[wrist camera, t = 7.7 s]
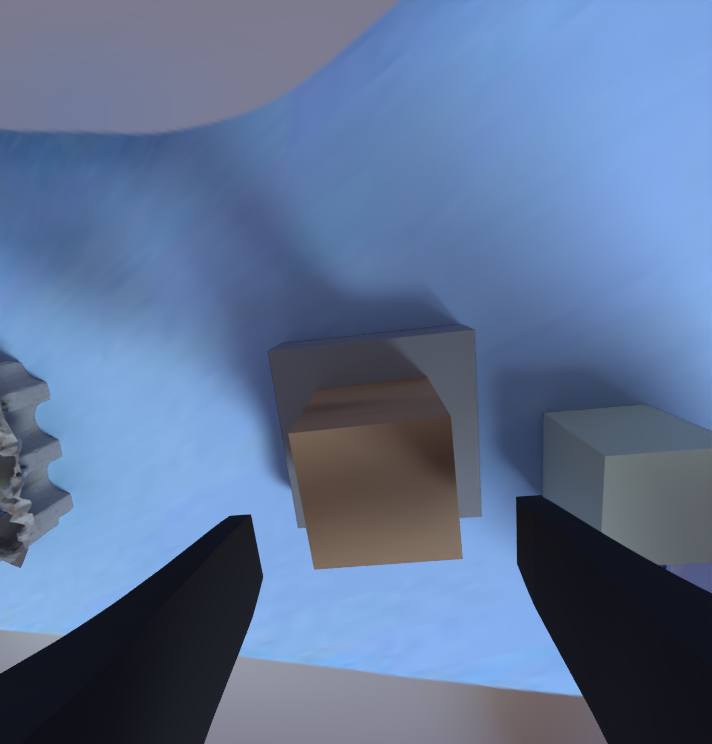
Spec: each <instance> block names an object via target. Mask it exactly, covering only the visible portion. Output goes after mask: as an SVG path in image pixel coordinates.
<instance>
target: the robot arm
mask: <svg viewBox="0 0 712 744" xmlns="http://www.w3.org/2000/svg"><path fill="white" fill-rule="evenodd" d="M516 516H517V565H518V567H519V570H520V572H521V575H522V577H523V580H524V582H525V585H526V587H527V590H528V592H529V594H530V597H531V599H532V601H533V604H534V606H535V608H536V610H537V612H538V614H539V615H540V617H541V619H542V621H543V623H544V625H545V627H546V629H547V630H548V632H549V634H550V636H551V638H552V640H553V642H554V643H555V645H556V647H557V649H558V651H559V653H560V654H561V656H562V658H563V660H564V662H565V664H566V665H567V667H568V669H569V671H570V673H571V675H572V676H573V678H574V680H575V682H576V684H577V686H578V687H579V689H580V691H581V693H582V695H583V697H584V698H585V700H586V702H587V704H588V706H589V707H590V710H591V711H592V713H593V715H594V717H595V719H596V721H597V723H598V725H599V727H600V729H601V731H602V733H603V735H604V737H605V739H606V741H607V743H608V744H712V562H711V563H691V564H672V565H666V569H665V568H663V567H661V566H659V565H657V564H655V563H654V562H652V561H650V560H648V559H646V558H644V557H643V556H641V555H639V554H638V553H636V552H634V551H632V550H631V549H629V548H627V547H625V546H624V545H622V544H620V543H619V542H617V541H615V540H614V539H612V538H610V537H609V536H607V535H605V534H604V533H602V532H600V531H599V530H597V529H595V528H594V527H592V526H590V525H589V524H587V523H586V522H584V521H582V520H581V519H579V518H578V517H576V516H574V515H573V514H571V513H569V512H568V511H566V510H565V509H563V508H561V507H560V506H558V505H556V504H555V503H553V502H551V501H550V500H548V499H546V498H544V497H543V496H541V495H537V496H522V497H516ZM262 580H263V573H262V568H261V563H260V558H259V553H258V548H257V543H256V538H255V533H254V528H253V523H252V518H251V515H235V516H229V517H228V518H226V519H225V520H223V521H222V522H220V523H219V524H218V525H216V526H215V527H214V528H212V529H211V530H210V531H209V532H207V533H206V534H205V535H203V536H202V537H201V538H200V539H198V540H197V541H196V542H195V543H193V544H192V545H191V546H190V547H188V548H187V549H186V550H185V551H183V552H182V553H181V554H179V555H178V556H177V557H176V558H174V559H173V560H172V561H171V562H169V563H168V564H167V565H165V566H164V567H163V568H162V569H160V570H159V571H157V572H156V573H155V574H153V575H152V576H151V577H149V578H148V579H147V580H145V581H144V582H143V583H141V584H140V585H138V586H137V587H136V588H134V589H133V590H132V591H130V592H129V593H128V594H126V595H125V596H124V597H122V598H121V599H119V600H118V601H117V602H115V603H114V604H112V605H111V606H109V607H108V608H106V609H105V610H103V611H102V612H100V613H99V614H98V615H96V616H95V617H93V618H92V619H90V620H88V621H87V622H85V623H84V624H82V625H81V626H79V627H78V628H76V629H74V630H73V631H71V632H70V633H68V634H67V635H65V636H64V637H62V638H60V639H59V640H57V641H56V642H54V643H52V644H51V645H49V646H47V647H45V648H44V649H42V650H40V651H38V652H37V653H35V654H33V655H32V656H30V657H28V658H27V659H25V660H23V661H21V662H20V663H18V664H16V665H14V666H13V667H11V668H9V669H8V670H6V671H4V672H2V673H1V674H0V744H204V742H205V740H206V737H207V734H208V731H209V728H210V726H211V723H212V720H213V717H214V715H215V712H216V709H217V707H218V704H219V702H220V700H221V697H222V695H223V692H224V689H225V687H226V684H227V682H228V679H229V677H230V674H231V672H232V669H233V666H234V664H235V662H236V659H237V656H238V654H239V651H240V649H241V646H242V644H243V641H244V638H245V636H246V633H247V631H248V628H249V625H250V623H251V620H252V617H253V614H254V610H255V607H256V603H257V599H258V596H259V592H260V588H261V584H262Z"/></svg>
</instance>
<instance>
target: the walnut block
mask: <svg viewBox="0 0 712 744" xmlns="http://www.w3.org/2000/svg"><path fill="white" fill-rule="evenodd" d="M288 435H289V440H290V445H291V451H292V456H293V461H294V466H295V472H296V477H297V482H298V487H299V493H300V498H301V503H302V508H303V513H304V519H305V524H306V529H307V534H308V540H309V545H310V550H311V555H312V561H313V566H314V569H328V568H342V567H356V566H369V565H383V564H397V563H411V562H425V561H439V560H453V559H463V557H462V545H461V533H460V521H459V509H458V497H457V484H456V472H455V460H454V448H453V436H452V424H451V415H450V414H449V412H448V411H447V409H446V407H445V406H444V404H443V402H442V401H441V399H440V397H439V396H438V394H437V392H436V391H435V389H434V387H433V386H432V384H431V382H430V381H429V379H428V377H421V378H412V379H404V380H395V381H387V382H378V383H370V384H361V385H353V386H344V387H336V388H327V389H319V390H315V392H314V393H313V395H312V397H311V398H310V400H309V401H308V403H307V405H306V406H305V408H304V409H303V411H302V413H301V414H300V416H299V417H298V419H297V420H296V422H295V424H294V425H293V427H292V428H291V430H290V432H289V433H288Z"/></svg>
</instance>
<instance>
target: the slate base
mask: <svg viewBox="0 0 712 744" xmlns="http://www.w3.org/2000/svg"><path fill="white" fill-rule="evenodd" d="M268 355H269V361H270V367H271V373H272V378H273V384H274V390H275V396H276V402H277V408H278V414H279V420H280V425H281V431H282V437H283V443H284V449H285V455H286V461H287V467H288V473H289V478H290V484H291V490H292V496H293V502H294V508H295V514H296V520H297V525H298V528H306V524H305V519H304V513H303V508H302V503H301V498H300V493H299V487H298V482H297V477H296V472H295V466H294V461H293V456H292V451H291V445H290V440H289V435H288V433H289V432H290V430H291V428H292V427H293V425H294V424H295V422H296V420H297V419H298V417H299V416H300V414H301V413H302V411H303V409H304V408H305V406H306V405H307V403H308V401H309V400H310V398H311V397H312V395H313V393H314V392H315V390H319V389H327V388H336V387H344V386H353V385H361V384H370V383H378V382H387V381H395V380H404V379H412V378H421V377H428V379H429V381H430V382H431V384H432V386H433V387H434V389H435V391H436V392H437V394H438V396H439V397H440V399H441V401H442V402H443V404H444V406H445V407H446V409H447V411H448V412H449V414H450V415H451V424H452V436H453V448H454V460H455V472H456V484H457V497H458V509H459V518H465V517H481V516H482V514H481V487H480V461H479V434H478V407H477V380H476V354H475V330H474V329H472V328H469V327H466V326H464V325H461V324H457V325H448V326H438V327H429V328H420V329H410V330H401V331H391V332H382V333H373V334H363V335H354V336H344V337H335V338H325V339H316V340H307V341H297V342H288V343H282V344H280V345H278V346H276V347H275V348H273V349H271V350H269V351H268Z"/></svg>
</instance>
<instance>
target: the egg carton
mask: <svg viewBox="0 0 712 744" xmlns="http://www.w3.org/2000/svg"><path fill="white" fill-rule="evenodd" d="M47 400H50V393H49V388H48V385H47V383H46V382H44V381H40V380H37V379H35V378H33V377H32V376H30V375H29V373H28V372H27V371H26V370H25V368H24V366H23V365H22V364H21V363H20V362H12V361H4V362H0V455H1V456H2V457H0V509H1V510H2V511H5V512H6V513H4V514H3V515H1V516H0V561H5V562H8V563H10V564H12V565H14V566H17V567H20V568H21V566H22V564H23V561H24V559H25V556H26V553H27V551H28V547H29V546H30V545H31V544H32V543H33V542H35V541H36V540H38V539H39V538H40V537H42V536H43V535H45V534H46V533H47V532H48V531H49V530H51V529H53V528H54V527H56V526H57V525H58V520H59V518H60V517H61V516H62V515H64V514H66V513H67V512H69V511H70V510H71V509H72V508H73V502H72V497H71V494H70V493H67V492H64V491H61V490H60V489H58V488H56V487H55V486H54V485H53V484H52V483H51V481H50V480H49V477H48V473H47V467H48V464H49V463H50V462H51V461H53V460H55V459H57V458H59V457H61V456H62V450H61V445H60V441H59V440H58V439H55V438H52V437H49V436H48V435H46V434H45V433H43V432H42V431H41V430H40V428H39V427H38V425H37V423H36V420H35V410H36V408H37V406H38V405H39V404H40V403H41V402H43V401H47ZM12 456H15V457H12Z"/></svg>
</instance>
